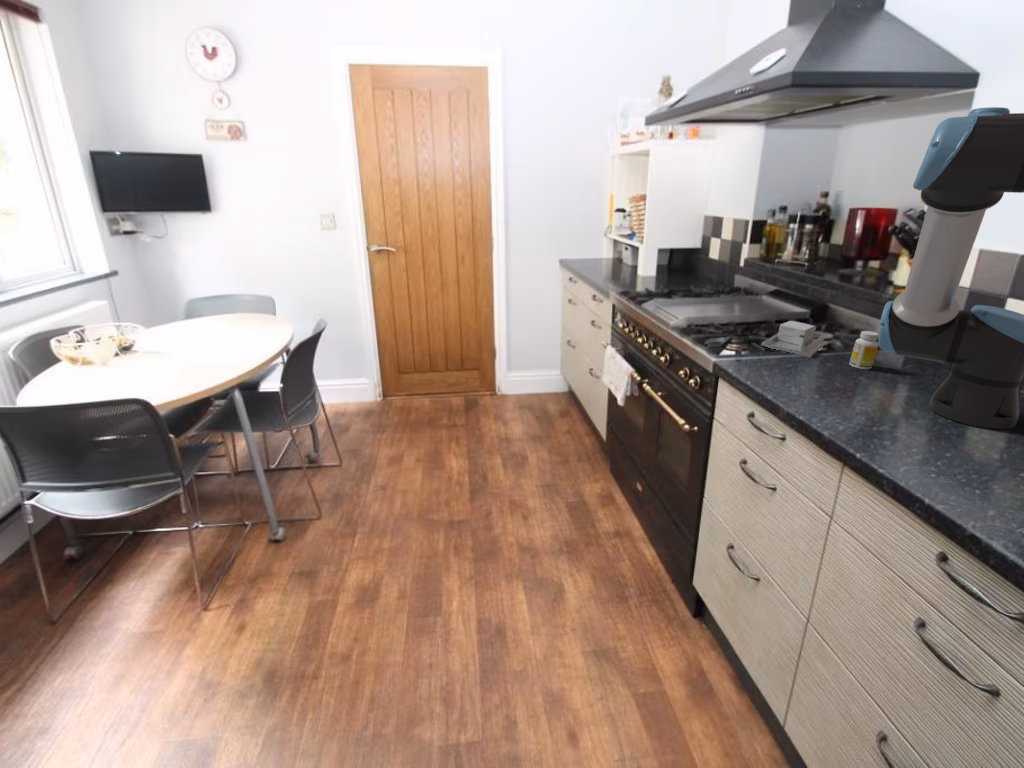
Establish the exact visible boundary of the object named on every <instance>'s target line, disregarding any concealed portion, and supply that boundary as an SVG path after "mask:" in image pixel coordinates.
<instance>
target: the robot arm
mask: <svg viewBox="0 0 1024 768" xmlns="http://www.w3.org/2000/svg"><path fill="white" fill-rule="evenodd" d="M927 147H928V148H927V149H926V152H925V155H924V158H923V159H922V162H921V164H920V167H919V169H918V172H917V174H916V177H915V180H914V182H913V184H912V187H913V189H915V190H918V191H921V192H920V199H921V202H922V203H923V204H924V205H925V206H926V207H927V208H926V212H925V215H924V218H923V221H922V226H921V230H920V233H919V236H918V237H919V238H918V240H917V245H916V249H915V253H914V254H913V255H914V256H913V259H912V263H911V266H910V269H909V273H908V276H907V281H906V283H905V284H906V285H905V288H904V291H903V292H900V293H899V294H898V295H897V296H896V297H895V298H894V300H889V301H887V302H886V303H885V305H884V308H883V309H882V310H883V311H882V313H881V317H880V322H879V323H880V324H879V328H878V334H879V335H878V339H877V340H878V341H877V342H878V344H879V345H878V348H880V349H881V350H882V351H883V352H887V353H891V354H894V355H897V356H905V357H909V358H914V359H915V358H916V359H919V360H927V361H932V362H933V361H934V362H937V363H944V364H950V365H951V366H952V367H951V369H950V372H949V375H948V376H947V377H946V378H945V380H943V382H942V383H941V384H940V385H939V386H938V387H937V389H936V390H935V392H933V394H932V395H931V397H930V400H929V403H928V407H929V408H930V409H931V410H932V411H933V412H935V413H936V414H937V415H940V416H942V417H944V418H946V419H949V420H952V421H954V422H958V423H961V424H965V425H969V426H971V427H972V426H973V427H978V428H984V429H992V430H993V429H994V430H1008V429H1013V428H1014V427H1015V426H1016V425H1017V422H1018V420H1019V418H1020V417H1019V416H1020V408H1019V407H1020V406H1019V403H1020V402H1019V388H1020V385H1021V383H1022V380H1023V378H1024V314H1023V313H1020V312H1018V311H1014V310H1010V309H1006V308H1002V307H997V306H993V305H984V304H975V305H974V306H972V308H970V311H968V310H962V309H960V304H959V301H958V300H957V299H956V298H955V297H956V294H957V291H958V289H959V285H960V283H961V280H962V278H963V275H964V272H965V269H966V268H967V267H966V266H967V264H968V261H969V259H970V256H971V252H972V250H973V248H974V244H975V242H976V239H977V236H978V234H979V231H980V228H981V225H982V222H983V219H984V218H985V217H984V216H985V214H986V211H987V210H988V209H991V208H993V207H994V206H995V205H997V204H998V203H999V202H1000V201H1001V200H1002V198H1003V196H1004V194H1005V193H1017V194H1018V193H1024V112H1020V113H1019V112H1018V113H1017V112H1016V113H1011V110H1010V108H1008V107H999V106H997V107H996V106H995V107H994V106H991V107H978V108H974V109H971V110H970V111H968V113H967V116H956V117H949V118H946V119H944V120H942V121H941V122H939V124H938V125H937V126H936V128H935V131H934V133H933V136H932V138H931V140H930V142H929V145H928V146H927Z"/></svg>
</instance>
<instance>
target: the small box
mask: <svg viewBox="0 0 1024 768" xmlns="http://www.w3.org/2000/svg"><path fill="white" fill-rule="evenodd" d="M779 325H780V326H779V328H778V329H779V330H778V332H777V333H778V337H777V340H781V341H785V342H789V343H793V344H797V345H800V346H803V345H805V344H808V343H810V342H812V341H813V337H814V333H816V328H817V325H813V324H808V323H805V322H799V321H795V320H789V321H787V322H783V323H780V324H779Z"/></svg>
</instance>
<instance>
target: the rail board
mask: <svg viewBox="0 0 1024 768" xmlns="http://www.w3.org/2000/svg"><path fill="white" fill-rule="evenodd" d="M778 333H779V332H777V333H776V334H773V335H772V336H771V337H769V338H768V339H766V340H764V341H762V342H761V343H760V346H761V345H762V346H765V347H768V348H771V349H770V350H773V349H776V350H775V351H777V350H782V351H786V352H790V353H789V354H791V353H794V354H793V355H796V354H797V356H801V357H805V358H810V359H811V358H812V357H814V356H815V355H816V354H817V353H818V352H817V351H818V350H819V349H821V348H822V347H823V346H824V344H825V343H826V342H827V341H826V342H825V341H823V340H824V339H825V338H826V339H827V334H822V333H817V332H815V333H814V337H818V338H817V339H813V341H812V342H810V343H808V344H805V345H803V346H800V345H797V344H793V343H789V342H785V341H781V340H777V337H778ZM768 348H767V349H768ZM822 349H823V348H822ZM822 349H821V350H822ZM782 351H781V352H782ZM786 352H785V353H786ZM816 352H817V353H816ZM815 353H816V354H815ZM814 354H815V355H814ZM813 355H814V356H813Z"/></svg>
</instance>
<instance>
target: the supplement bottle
mask: <svg viewBox="0 0 1024 768" xmlns="http://www.w3.org/2000/svg"><path fill="white" fill-rule="evenodd" d="M878 335H879V332H875V331H871V330H863V331H861V332H860V335H859V338H857V339H856V340H855V343H854V344H853V345H854V346H853V349H852V352H851V356H850V359H849V362H848V363H849V366H850V365H851V368H854V367H855V368H854V369H858V368H859V369H860V370H871V369H872V367H873V364H874V362H875V358H876V355H877V351H878V348H879V343H878V341H877V340H878ZM859 369H858V370H859Z"/></svg>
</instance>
